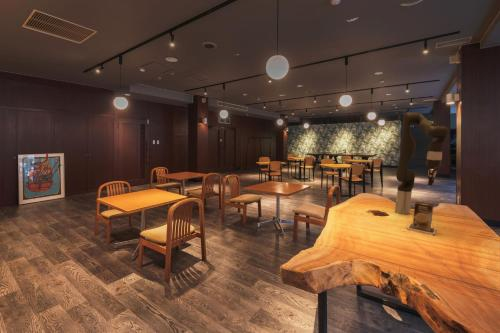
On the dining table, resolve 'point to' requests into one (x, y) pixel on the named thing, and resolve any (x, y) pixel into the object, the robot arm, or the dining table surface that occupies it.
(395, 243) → the dining table surface
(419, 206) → the coffee box
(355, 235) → the dining table surface
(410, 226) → the mat
